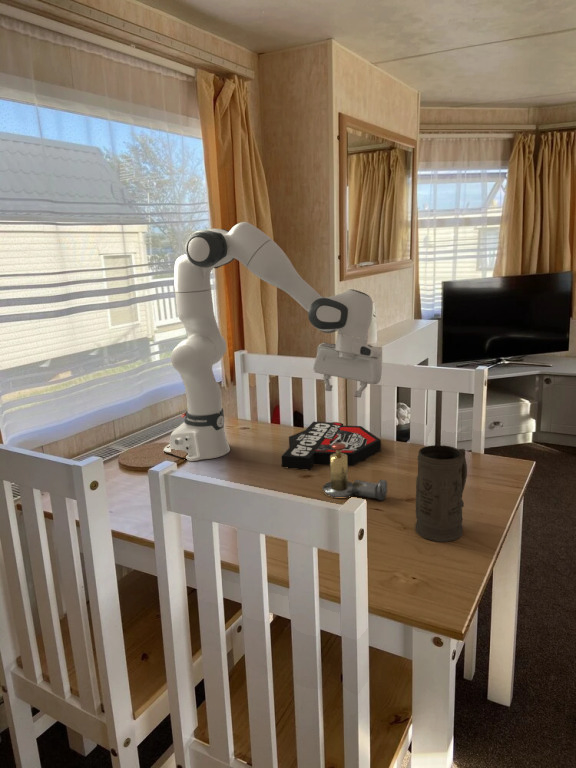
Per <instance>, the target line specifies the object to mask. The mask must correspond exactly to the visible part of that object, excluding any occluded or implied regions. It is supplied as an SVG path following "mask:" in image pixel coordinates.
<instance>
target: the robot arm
mask: <svg viewBox="0 0 576 768" xmlns="http://www.w3.org/2000/svg"><path fill="white" fill-rule="evenodd" d="M184 251H185V254H183V255H181V256H179V257H178V258H177V259H176V260H175V263H174V270H173V271H174V272H173V273H174V274H173V275H174V278H173V280H174V281H173V282H174V284H173V285H174V294H175V301H176V302H175V303H176V309H177V310H176V311H177V317H178V319H179V320H180V321H181V323H182V324H183V326H184V328H185V331H186V335H187V338H186V339H185V338H184V339H183V340H181V341H180V342H179V343H178V344H177V345H176V346H175V347H174V348H173V350H172V352H171V355H170V361H171V364H172V366H173V368H174V369H175V370H176V371H177V373H179V374H180V377H181V380H182V383H183V385H184V388H185V389H184V391H185V395H186V404H187V406H186V407H187V411H185V412H184V413H181V414H180V416H181V418H184V420H183V422H182V423H181V424H180V425H178V426H177V427H176V428H175V429H174V430H173V431H172V432H171V434H170V437H169V444H167V445H165V447H164V448H163V451H165V452H171V449H175V450H182V451H185V452H187V453H188V455H187V456H186V459H187V460H186V461H189V462H197V461H201V460H210V459H211V460H212V459H215V458H219V457H223V456H225V455H227V454H229V452H230V450H231V447H230V445H229V442H228V439H227V435H226V430H225V411H224V408H223V406H222V405H223V403H222V402H223V401H222V391H221V385H220V384H219V383H218V382H217V380H216V376H215V375H214V371H213V366H214V365H215V364H217V363H219V362H220V361H221V359H222V358H223V357H224V355H225V354H226V351H227V342H226V339H225V338H224V336H223V335H222V334H221V332H220V329H219V326H218V323H217V320H216V317H215V312H214V304H213V294H212V287H211V272H212V270H213V269H218V268H221V267H223V266H225V265H228V264H230V263H232V262H234V260H236V261H238V262H239V263H241V264H242V265H243V266H244V267H245V268H246V269H247V270H248V271H249V272H250V273H252V274H253V275H254V276H255V277H258V278H259V279H260V280H262V281H264V282H265V283H267V284H268V285H271V286H273V287H275V288H277V289H280V290H282V291H283V292H285V293H287V294H288V295H289V296H290V297H291V298H293V300H294V301H295V302H297V303H298V304H299V305H300V306H301V307H302V308H303V309H304V310H305V311H306V312H307V315H308V316H307V317H308V320H309V323H311V325H312V326H313V327H314V328H315V329H317V330H319V331H320V332H322V333H325V334H332V333H335V332H337V336H336V342H335V343H328V342H322V343H320V344H319V345H318V346H317V350H316V357H315V359H314V364H313V372H314V373H316V374H321V375H323V376H322V378H323V382H324V384H325V387H324V391H325V392H332V391H333V389H332V388H333V384H331V383H330V379H331V377H334V378H335V377H336V378H341V379H344V380H345V379H346V380H351V381H356V382H359V386H360V388H358V390H355V391H354V397H356V398H358V399H359V398H362V394H363V392H364V390H365V389H367V387H368V384H371V385H377V384H379V383H380V382H381V379H382V369H383V365H382V364H383V363H382V360H381V359H380V358H382V355H383V353H382V350H380V349H378V348H376V347H375V346H372V345H370V344H369V343H368V340H369V336H368V335H369V333H368V332H369V331H368V330H369V328H370V326H371V322H372V316H373V308H374V307H373V305H374V304H373V300H372V298H371V296H370V295H369V294H367V293H365V292H362V291H360V290H356V289H347V290H346V291H344V292H342V293H338V294H335V295H330V296H322V295H321V294H320V293H319V292H318V291H316V290H315V289H314V288H313V287H312V286H311V285H310V284H309V283H308V282H306V281H305V280H304V279H303V278H302V276H301V275H299V272H298V271H297V270H296V268H295V267H294V265H293V263H292V261H291V260H290V258H289V256H288V255H287V254H286V253H285V252H284V250H283V249H282V248H281V247H280V245H278V243H277V242H275V241H274V240H273V238H271V237H270V236H269V235H268V234H266V233H265V232H263V231H262V230H261V229H259V228H258V227H256V226H254V225H253V224H251V223H250V222H248V221H241V222H239V223H236V224H235V225H234V226H232V227H231V229H230V230H227V229H223V228H208V229H200V230H196V231H195V232H193V233H191V234H190V235H189V236H188V237H187V239H186V241H185V244H184ZM169 446H170V447H169ZM167 447H169V448H167Z"/></svg>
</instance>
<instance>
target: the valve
mask: <svg viewBox="0 0 576 768" xmlns="http://www.w3.org/2000/svg"><path fill="white" fill-rule="evenodd" d="M332 449H333V450H336V453H334V454H332V455H330V465H329V466H330V467H329V468H330V469H329V471H330V482H331V489H333V490H336V491H343V490H346V489H347V488H348V482H349V476H348V472H349V471H348V467H349V466H348V465H347V455H346V454H343V453H341V450H343V449H345V444H343V443H334V444H332Z"/></svg>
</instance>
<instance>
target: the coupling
mask: <svg viewBox="0 0 576 768" xmlns="http://www.w3.org/2000/svg"><path fill="white" fill-rule="evenodd" d="M322 486H323V487H322V488H323V489H322V490H323V491H324V492H325V493H326V494H327V495H330V496H332V497H349V496H350V497H349V498H352V497H353V496H352V495H354V496H358V497H364V498H368V499H373V500H374V499H375V500H377V501H385V499H386V497H387V493H388V481H387V480H385V479H379V480H378V482H371V481H365V480H360V479H355V480H354V481H353V482H351V481H348V488H347V489H346V490H343V491H336V490H333V489H331V481H328V482H326V483H325V484H324V485H322ZM323 491H322V492H323Z"/></svg>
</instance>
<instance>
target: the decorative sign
mask: <svg viewBox="0 0 576 768" xmlns="http://www.w3.org/2000/svg"><path fill="white" fill-rule="evenodd" d="M334 443H343V444H345V449H343V450H341V453H343V454H346V455H347V465H348V467H354V466H356V465H358V464H359V463H361V462H363V461H365V460H367V459H368V458H371V457H372V456H374V455H376V454H378V453H380V452H381V451H382V447H381V446H382V440H381V439H380V438H379V437H377V436H376V435H375V434H374V433H372V432H370V431H369V430H367V429H366V428H365V427H363V426H362V425H344V423H342V422H338V421H333V422H329V421H327V422H326V421H312V422H311V423H310V424H309V426H308V427H307V428H306V429H304V430H303V431H300V432H298V433H295V434H293V435H290V436H289V437H288V445H289V446H288V448H287V449H286V451H285V452H283V454H282V455H281V457H280V458H281V468H282V467H288V468H287V469H290V468H297V469H296V470H302V469H308V470H307V471H311V470H312V468H313V467H314V466H315V465H314V464H319V465H320V466H321V465H322V466H330V455H332V454H334V453H336V450H333V449H332V444H334ZM357 463H358V464H357ZM313 465H314V466H313ZM319 465H318V466H319ZM310 469H311V470H310Z"/></svg>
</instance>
